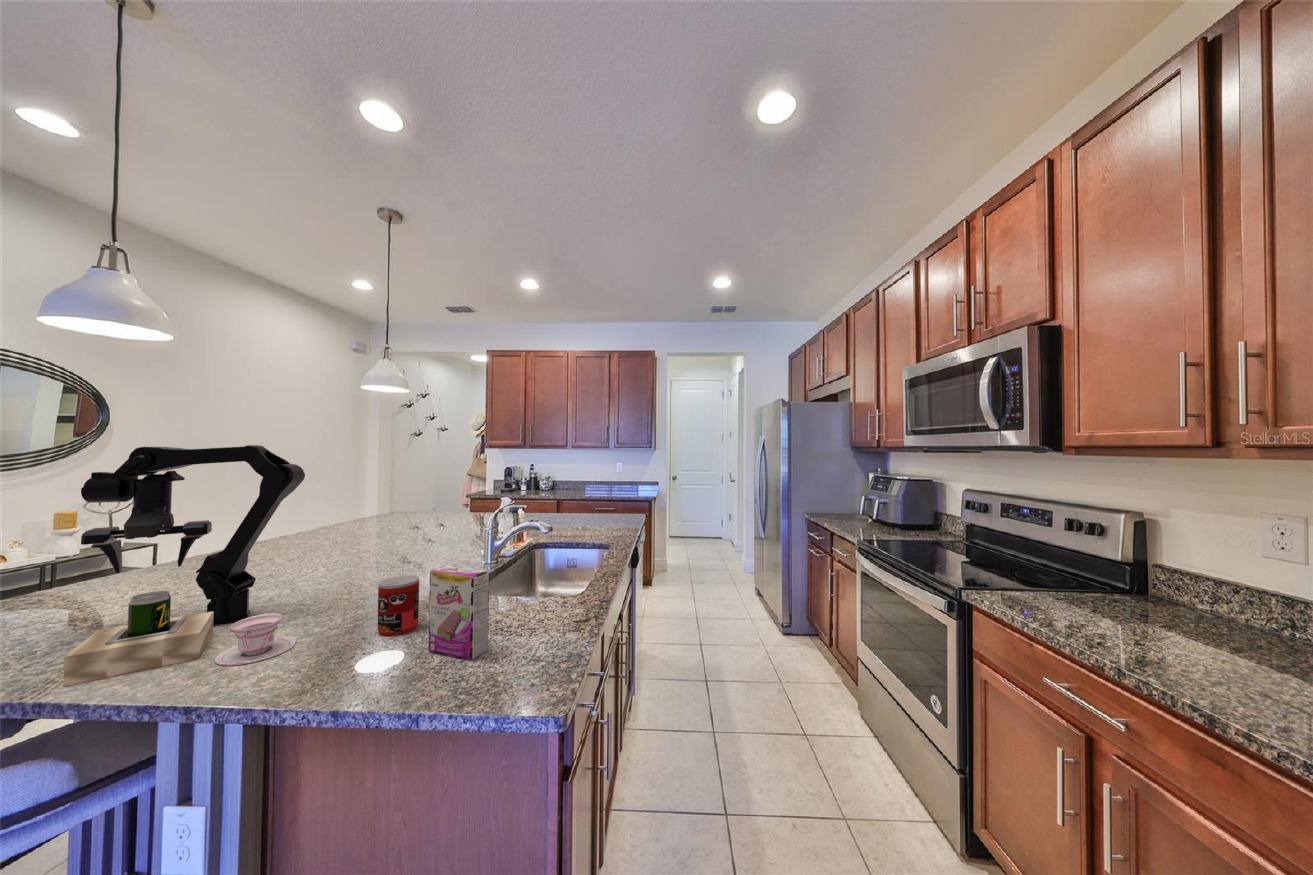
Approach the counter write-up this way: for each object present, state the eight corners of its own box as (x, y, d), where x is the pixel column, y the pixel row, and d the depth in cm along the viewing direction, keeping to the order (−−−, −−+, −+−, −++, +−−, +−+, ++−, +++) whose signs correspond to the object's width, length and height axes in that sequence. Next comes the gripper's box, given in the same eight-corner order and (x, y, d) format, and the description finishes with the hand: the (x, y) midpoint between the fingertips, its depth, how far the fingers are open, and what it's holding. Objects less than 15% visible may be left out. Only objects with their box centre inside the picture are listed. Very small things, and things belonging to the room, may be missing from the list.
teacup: (235, 644, 90) (236, 614, 90) (305, 635, 94) (306, 607, 94) (199, 672, 78) (200, 637, 79) (281, 660, 83) (282, 628, 83)
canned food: (369, 633, 95) (370, 583, 95) (402, 620, 102) (403, 573, 103) (393, 639, 92) (394, 587, 92) (425, 625, 99) (426, 577, 100)
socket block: (213, 634, 94) (213, 609, 94) (198, 658, 83) (199, 631, 83) (97, 655, 84) (98, 628, 84) (63, 686, 73) (64, 655, 73)
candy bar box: (426, 653, 86) (428, 570, 86) (446, 642, 90) (447, 564, 91) (471, 662, 82) (472, 575, 83) (489, 651, 87) (490, 569, 87)
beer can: (120, 666, 80) (122, 601, 80) (133, 655, 85) (136, 593, 85) (162, 659, 83) (164, 596, 83) (173, 648, 88) (175, 588, 88)
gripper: (70, 508, 87) (67, 586, 86) (203, 501, 98) (200, 570, 98) (93, 502, 95) (90, 573, 95) (213, 497, 107) (210, 560, 106)
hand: (150, 569), depth 98 cm, fingers open, 9 cm apart
